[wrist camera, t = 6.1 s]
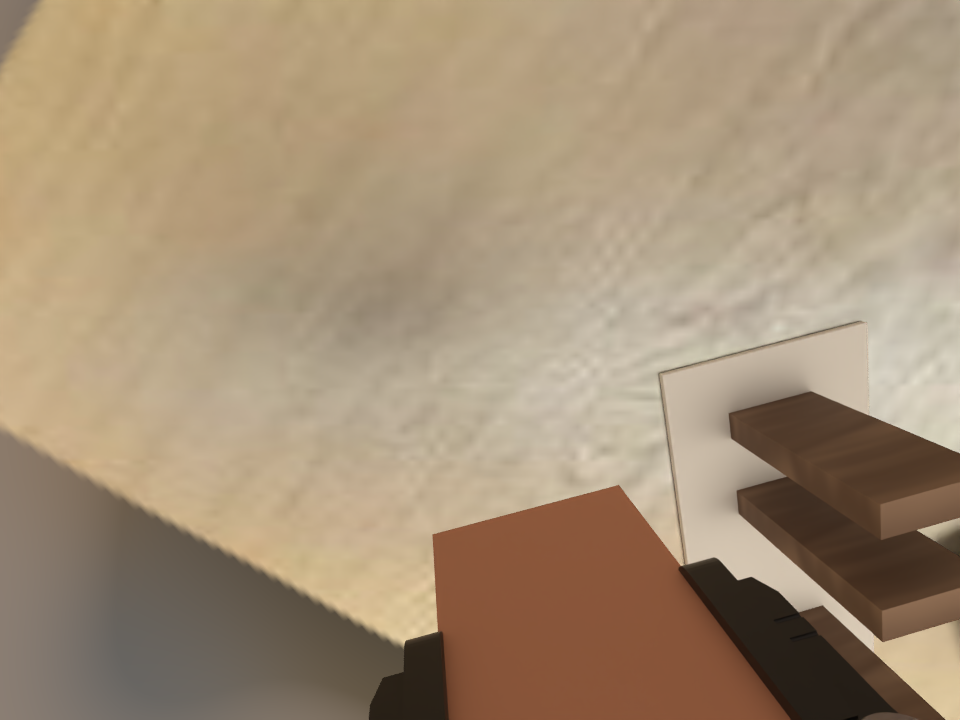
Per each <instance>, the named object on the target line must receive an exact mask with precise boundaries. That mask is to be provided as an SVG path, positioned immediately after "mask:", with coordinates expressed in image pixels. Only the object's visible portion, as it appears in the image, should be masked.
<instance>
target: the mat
mask: <svg viewBox="0 0 960 720" xmlns="http://www.w3.org/2000/svg"><path fill="white" fill-rule="evenodd" d="M659 376H660V383H661V391H662V398H663V405H664V412H665V420H666V427H667V434H668V442H669V449H670V456H671V464H672V471H673V478H674V485H675V493H676V500H677V507H678V515H679V522H680V529H681V537H682V544H683V551H684V558H685V565H687V564H691V563H695V562H698V561H702V560H706V559H709V558H713V557H715V558H717V559H719V560H720V561H721V562H722V563H723V564H724V566H725V567H726V568H727V569H728V570H729V571H730V572H731V573H732V574H733V576H734V577H735V578H736V579H737V580H741V579H745V578H748V577H753V578H755V579H757V580H758V581H760V582H762V583H764V584H766V585H768V586H769V587H771V588H773V589H775V590H777V591H778V592H779V593H780V594H781V595H782V596H783V597H784V598H785V599H786V600H787V601H788V602H789V603H790V604H791V605H792V606H793V607H794V608H795V609H796V610H797V611H798V612H801V611H805V610H808V609H812V608H815V607H819V606H822V605H823V606H824V607H825V608H826V609H827V610H828V611H829V612H830V613H832V614H833V615H834V616H835V617H836V618H837V619H838V620H839V621H840V622H841V623H842V624H843V625H844V626H845V627H847V628H848V629H849V630H850V631H851V632H852V633H853V634H854V635H855V636H856V637H857V638H858V639H859V640H860V641H862V642H863V643H864V644H865V645H866V646H867V647H868V648H869V649H870V650H871V651H872V652H873V653H874V634H873V633H872V632H871V631H870V630H868V629H867V628H866V627H865V626H864V625H863V624H862V623H861V622H859V621H858V620H857V619H856V618H855V617H854V616H853V615H852V614H851V613H849V612H848V611H847V610H846V609H845V608H844V607H843V606H842V605H840V604H839V603H838V602H837V601H836V600H835V599H834V598H833V597H831V596H830V595H829V594H828V593H827V592H826V591H825V590H824V589H822V588H821V587H820V586H819V585H818V584H817V583H816V582H815V581H813V580H812V579H811V578H810V577H809V576H808V575H807V574H806V573H805V572H803V571H802V570H801V569H800V568H799V567H798V566H797V565H796V564H794V563H793V562H792V561H791V560H790V559H789V558H788V557H787V556H785V555H784V554H783V553H782V552H781V551H780V550H779V549H778V548H776V547H775V546H774V545H773V544H772V543H771V542H770V541H769V540H767V539H766V538H765V537H764V536H763V535H762V534H761V533H760V532H759V531H757V530H756V529H755V528H754V527H753V526H752V525H751V524H750V523H748V522H747V521H746V520H745V519H744V518H743V517H742V516H741V515H739V512H738V502H737V492H736V491H737V490H740V489H744V488H747V487H751V486H755V485H758V484H762V483H766V482H769V481H773V480H776V479H780V478H784V477H787V476H786V475H784V474H783V473H781V472H780V471H778V470H777V469H775V468H774V467H772V466H771V465H769V464H768V463H766V462H765V461H763V460H762V459H760V458H759V457H757V456H756V455H755V454H753V453H752V452H750V451H749V450H747V449H746V448H744V447H743V446H741V445H740V444H738V443H737V442H735V441H734V440H732V439H731V432H730V422H729V413H731V412H735V411H739V410H743V409H746V408H750V407H754V406H758V405H761V404H765V403H769V402H773V401H776V400H780V399H784V398H788V397H791V396H795V395H799V394H803V393H806V392H810V391H812V392H814V393H817V394H819V395H822V396H824V397H826V398H829V399H831V400H833V401H836V402H838V403H841V404H843V405H845V406H848V407H850V408H852V409H855V410H857V411H860V412H862V413H864V414H867V415H869V389H868V343H867V322H862V321H860V322H856V323H853V324H849V325H845V326H841V327H837V328H833V329H829V330H826V331H822V332H818V333H814V334H810V335H806V336H802V337H799V338H795V339H791V340H787V341H783V342H779V343H775V344H772V345H768V346H764V347H760V348H756V349H752V350H748V351H745V352H741V353H737V354H733V355H729V356H725V357H721V358H718V359H714V360H710V361H706V362H702V363H698V364H694V365H691V366H687V367H683V368H679V369H675V370H671V371H667V372H664V373H660V374H659Z"/></svg>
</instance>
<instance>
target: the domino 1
mask: <svg viewBox="0 0 960 720" xmlns="http://www.w3.org/2000/svg"><path fill="white" fill-rule="evenodd" d="M433 550H434V568H435V586H436V604H437V622H438V632H440V631H442V633H443V641H444V655H445V670H446V685H447V699H448V714H449V720H791V719H790V717H789V716H788V715H787V714H786V712H785V711H784V710H783V708H782V707H781V706H780V704H779V703H778V702H777V700H776V699H775V698H774V696H773V695H772V694H771V692H770V691H769V690H768V688H767V687H766V686H765V684H764V683H763V682H762V680H761V679H760V678H759V676H758V675H757V674H756V672H755V671H754V670H753V668H752V667H751V666H750V664H749V663H748V662H747V660H746V659H745V658H744V656H743V655H742V654H741V652H740V651H739V650H738V648H737V647H736V646H735V644H734V643H733V642H732V640H731V639H730V638H729V636H728V635H727V634H726V632H725V631H724V630H723V628H722V627H721V626H720V624H719V623H718V622H717V620H716V619H715V618H714V616H713V615H712V614H711V612H710V611H709V610H708V609H707V607H706V606H705V605H704V603H703V602H702V601H701V599H700V598H699V597H698V595H697V594H696V593H695V591H694V590H693V589H692V587H691V586H690V585H689V583H688V582H687V581H686V579H685V578H684V577H683V575H682V574H681V573H680V571H679V570H678V568H679V567H680V564H679V563H678V562H677V560H676V559H675V558H674V557H673V555H672V554H671V553H670V551H669V550H668V549H667V547H666V546H665V545H664V544H663V542H662V541H661V540H660V538H659V537H658V536H657V534H656V533H655V532H654V530H653V529H652V528H651V527H650V525H649V524H648V523H647V521H646V520H645V519H644V517H643V516H642V515H641V514H640V512H639V511H638V510H637V508H636V507H635V506H634V504H633V503H632V502H631V501H630V499H629V498H628V497H627V495H626V494H625V493H624V491H623V490H622V489H621V487H620V486H619V485H617V486H614V487H610V488H606V489H602V490H599V491H595V492H591V493H587V494H583V495H580V496H576V497H572V498H568V499H565V500H561V501H557V502H553V503H550V504H546V505H542V506H538V507H534V508H531V509H527V510H523V511H519V512H516V513H512V514H508V515H504V516H501V517H497V518H493V519H489V520H485V521H482V522H478V523H474V524H470V525H467V526H463V527H459V528H455V529H452V530H448V531H444V532H440V533H437V534H433Z"/></svg>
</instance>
